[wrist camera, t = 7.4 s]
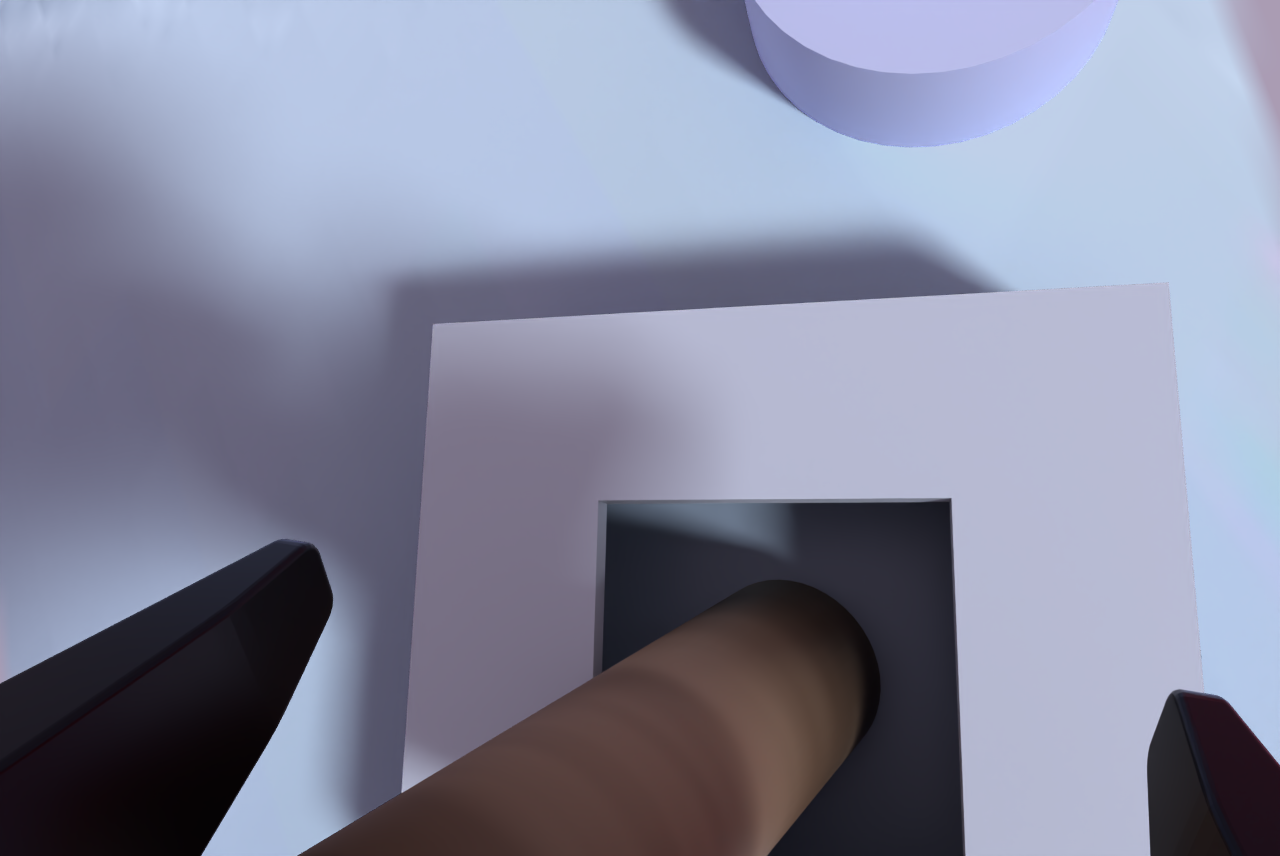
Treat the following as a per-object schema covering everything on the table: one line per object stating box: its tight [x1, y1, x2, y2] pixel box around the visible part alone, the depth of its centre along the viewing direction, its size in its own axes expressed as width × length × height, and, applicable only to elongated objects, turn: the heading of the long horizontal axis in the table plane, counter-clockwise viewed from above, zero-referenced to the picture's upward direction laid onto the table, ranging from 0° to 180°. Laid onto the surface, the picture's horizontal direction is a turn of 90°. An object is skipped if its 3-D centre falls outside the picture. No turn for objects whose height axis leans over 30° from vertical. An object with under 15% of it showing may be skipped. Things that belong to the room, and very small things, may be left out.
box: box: [401, 282, 1204, 856], centre depth 20 cm, size 14×14×5 cm
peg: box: [298, 580, 881, 856], centre depth 16 cm, size 4×4×12 cm
